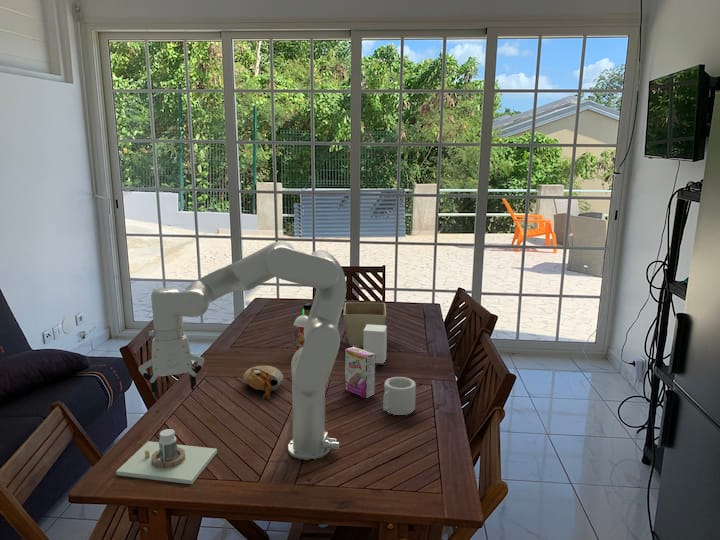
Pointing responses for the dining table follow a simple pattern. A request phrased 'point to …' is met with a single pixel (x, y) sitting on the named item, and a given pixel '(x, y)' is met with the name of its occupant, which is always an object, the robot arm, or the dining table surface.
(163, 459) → the pill bottle
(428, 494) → the dining table surface
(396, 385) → the mug
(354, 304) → the flower pot
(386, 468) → the dining table surface
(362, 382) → the candy bar box
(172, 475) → the socket board
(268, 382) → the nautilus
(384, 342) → the supplement box
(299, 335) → the smoothie
